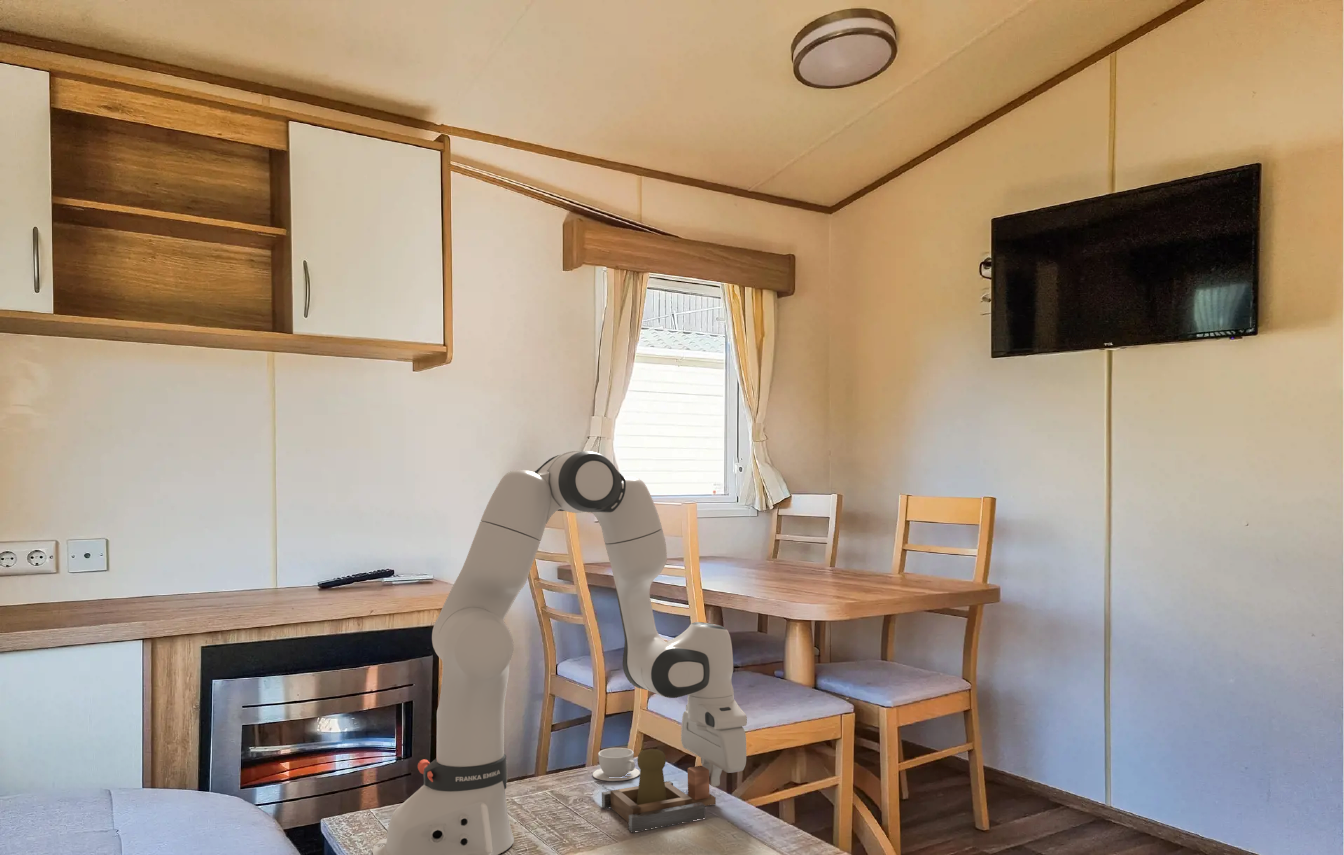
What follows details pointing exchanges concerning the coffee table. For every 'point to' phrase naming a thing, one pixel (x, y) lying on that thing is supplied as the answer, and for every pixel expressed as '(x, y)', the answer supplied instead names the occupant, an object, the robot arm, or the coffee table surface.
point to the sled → (697, 792)
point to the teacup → (616, 764)
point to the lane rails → (660, 814)
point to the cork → (651, 776)
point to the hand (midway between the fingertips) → (712, 784)
